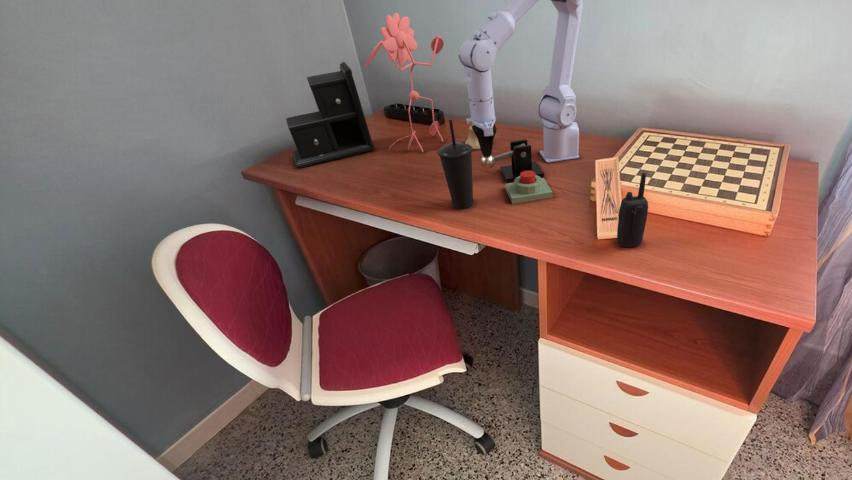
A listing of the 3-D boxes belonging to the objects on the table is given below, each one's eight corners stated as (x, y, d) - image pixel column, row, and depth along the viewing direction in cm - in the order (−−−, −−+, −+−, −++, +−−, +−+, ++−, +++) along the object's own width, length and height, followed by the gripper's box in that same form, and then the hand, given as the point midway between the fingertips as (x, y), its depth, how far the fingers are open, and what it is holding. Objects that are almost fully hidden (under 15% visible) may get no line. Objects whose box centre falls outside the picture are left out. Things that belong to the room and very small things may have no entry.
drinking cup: (466, 215, 98) (453, 128, 85) (441, 208, 101) (424, 123, 89) (485, 201, 103) (475, 116, 90) (460, 194, 106) (447, 112, 93)
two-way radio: (639, 237, 87) (650, 168, 77) (647, 249, 84) (660, 178, 74) (613, 240, 87) (620, 171, 77) (620, 253, 83) (629, 182, 74)
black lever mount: (506, 183, 109) (504, 152, 104) (500, 170, 115) (498, 140, 110) (544, 177, 110) (543, 146, 105) (536, 165, 117) (535, 135, 111)
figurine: (462, 133, 139) (445, 6, 116) (405, 163, 123) (373, 23, 101) (428, 126, 146) (406, 5, 123) (370, 153, 130) (333, 20, 108)
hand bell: (496, 141, 132) (491, 86, 121) (481, 151, 126) (474, 95, 116) (475, 137, 135) (468, 84, 125) (459, 147, 130) (451, 92, 120)
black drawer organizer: (296, 169, 125) (261, 83, 110) (293, 157, 132) (260, 75, 117) (375, 151, 132) (352, 68, 117) (368, 140, 139) (346, 61, 124)
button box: (543, 183, 108) (543, 170, 106) (552, 197, 102) (552, 184, 100) (505, 189, 107) (504, 176, 105) (512, 204, 101) (511, 190, 99)
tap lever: (483, 172, 108) (479, 159, 106) (481, 167, 111) (477, 154, 109) (529, 157, 109) (526, 144, 106) (525, 152, 111) (522, 139, 109)
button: (533, 177, 104) (533, 169, 103) (537, 183, 101) (536, 175, 100) (519, 179, 104) (518, 171, 102) (522, 186, 101) (522, 178, 100)
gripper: (460, 92, 104) (467, 146, 112) (468, 109, 93) (475, 168, 101) (488, 88, 105) (493, 142, 113) (499, 105, 94) (504, 164, 102)
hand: (486, 154), depth 107 cm, fingers closed
